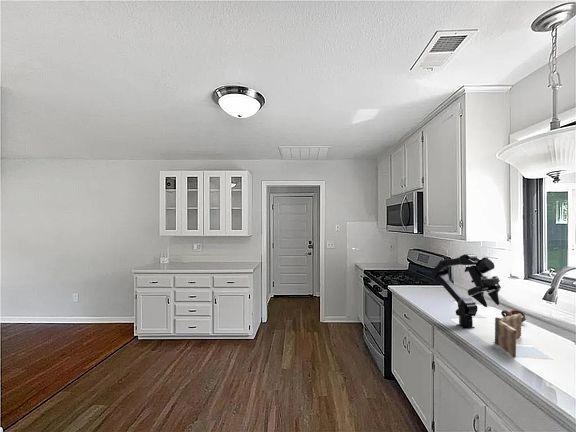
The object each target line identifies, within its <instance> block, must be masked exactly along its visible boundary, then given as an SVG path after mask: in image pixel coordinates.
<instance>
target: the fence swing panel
mask: <svg viewBox="0 0 576 432" xmlns="http://www.w3.org/2000/svg"><path fill="white" fill-rule="evenodd" d="M500 318H501V321H503V322H504V323H506V324H507V325H509V326H511V327H512V328H514V329H515V330H517V333H516V339H517V338H520V337H522V323H521V318H523V316H522V314H515V315H511V316H507V317H503V316H502V317H500Z"/></svg>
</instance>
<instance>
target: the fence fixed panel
mask: <svg viewBox="0 0 576 432" xmlns="http://www.w3.org/2000/svg"><path fill="white" fill-rule="evenodd" d="M501 318H502V317H498V316H497V317H495V318H494V322H495V323H494V342H495V344H497V345H499V346H500V347H501V348H503V349H504V350H505V351H506V352H508V353H509V354H510V355H511V356H513V357H512V358H517V357H516V344H517V338H516V333H517V330H515V329H514V328H512V327H511V326H509V325H507V324H506V323H504V322H503V321H501ZM511 356H510V357H511Z"/></svg>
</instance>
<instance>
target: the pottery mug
mask: <svg viewBox="0 0 576 432" xmlns="http://www.w3.org/2000/svg"><path fill="white" fill-rule="evenodd" d="M500 313H501V315H502V318H503V317H507V316H511V315H515V314H522V317H521V324H522V323H524V322H526V320H527V319H526V315H525V312H522V311H520V310H519V309H512V310H510V311H508V310H505V309H503V310H502V311H501V312H500Z"/></svg>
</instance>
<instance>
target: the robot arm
mask: <svg viewBox="0 0 576 432" xmlns="http://www.w3.org/2000/svg"><path fill="white" fill-rule="evenodd" d="M459 265H460V266H465V268H464V272H465V273H467V272H468V274H469V276H470V277H471V284H472V283H473V284H474V285H475V286H474V287H471V288H469V289H468V290H467V294H468V296H471V297H465V296H464V295H463V294H462V292H461V291H460V290H459V289H458V288H457V287H456V286H455V284H453V283H452V281H451V280H450V278H449V273H450V269H449V268H450V267H453V266H459ZM494 268H495V263H494V262H493V261H492V260H491V259H489V258H488V256H484V257H482V258H479V257H478V256H477V255H476V254H475V253H469V254H466V253H465V254H462V255H460V256H459V257H456V258H451V259H444V260H440V261H439V262H438V263H437V265H436V266H435V267H434V268H433V270H432V271H431V274H430V275H431V279H432V280H433V281H435V282H436V283H437V284H440V285H442V287H443V288H444V289H445V290H446V291H447V292H448V294H449V295H450V296H451V298H453V299H454V301H456V303H457V309H456V310H455V315H456V316H457V317H458V323H457V324H456V326H457V327H459V328H462V329H465V330H467V329H468V330H469V329H475V326H474V324H473V323H474V322H473V317H476V315H477V312H478V308H479V307H478V305H477V303H476V302H475V301H474V299H475V300H476V301H477V302H478V303H480V304H481V305H482V306H483V307H484V308H488V304H487V301H486V299H485V297H484V294H485V292H487V295H488V296H489V297H490V298H491V300H492V301H493V303H495V305H497V306H499V305H500V301H499V292H500V291H501V289H502V287H501V285H500V281H501V279H500V278H499V276H498V275H497V276H496V275H494V276H492V277H491V278H488V276H485V275H484V274H486V273H488V272H491V271H492V270H494ZM473 298H474V299H473Z"/></svg>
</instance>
